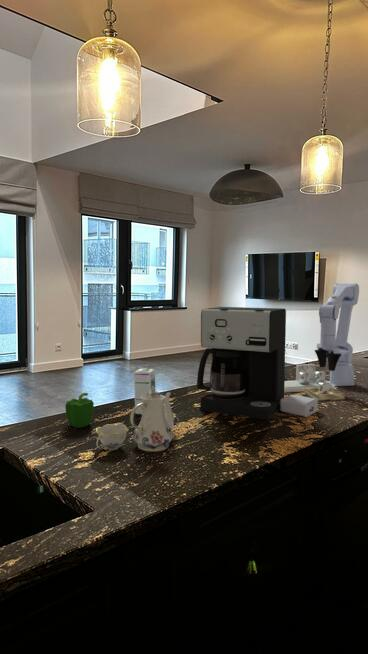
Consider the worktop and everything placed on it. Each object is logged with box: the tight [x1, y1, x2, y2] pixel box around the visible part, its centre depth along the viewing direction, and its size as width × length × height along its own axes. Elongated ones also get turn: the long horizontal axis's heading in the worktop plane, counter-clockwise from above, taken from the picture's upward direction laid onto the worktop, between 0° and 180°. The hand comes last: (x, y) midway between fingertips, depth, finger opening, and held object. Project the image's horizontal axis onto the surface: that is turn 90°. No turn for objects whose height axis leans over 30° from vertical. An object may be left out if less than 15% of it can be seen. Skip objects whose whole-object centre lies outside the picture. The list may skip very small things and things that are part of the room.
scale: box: [284, 363, 336, 393], centre depth 188 cm, size 22×13×8 cm, turn 100°
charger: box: [279, 394, 319, 418], centre depth 154 cm, size 5×9×15 cm
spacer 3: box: [318, 381, 330, 395], centre depth 173 cm, size 4×4×4 cm
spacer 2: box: [314, 370, 326, 384], centre depth 188 cm, size 4×4×4 cm
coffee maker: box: [196, 306, 287, 421], centre depth 157 cm, size 28×20×35 cm
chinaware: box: [95, 387, 180, 453], centre depth 123 cm, size 28×17×17 cm, turn 141°
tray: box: [304, 387, 346, 401], centre depth 174 cm, size 11×11×2 cm
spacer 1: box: [298, 372, 310, 385], centre depth 186 cm, size 4×4×4 cm
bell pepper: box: [64, 392, 95, 429], centre depth 137 cm, size 8×8×10 cm
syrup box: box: [133, 367, 156, 415], centre depth 152 cm, size 6×6×14 cm
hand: (327, 368), depth 179 cm, fingers open, 7 cm apart
